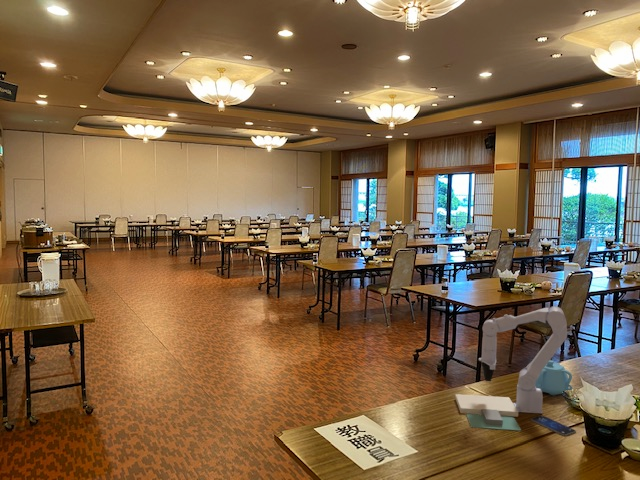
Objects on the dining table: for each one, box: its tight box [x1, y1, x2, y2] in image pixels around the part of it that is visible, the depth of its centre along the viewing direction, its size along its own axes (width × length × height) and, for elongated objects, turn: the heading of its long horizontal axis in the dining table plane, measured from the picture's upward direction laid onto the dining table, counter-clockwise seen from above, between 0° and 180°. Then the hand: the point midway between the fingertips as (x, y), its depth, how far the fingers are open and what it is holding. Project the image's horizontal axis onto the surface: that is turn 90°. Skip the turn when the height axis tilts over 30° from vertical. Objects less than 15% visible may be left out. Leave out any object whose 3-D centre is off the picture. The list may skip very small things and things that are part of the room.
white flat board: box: [454, 393, 519, 418], centre depth 198 cm, size 22×14×2 cm, turn 83°
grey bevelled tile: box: [481, 409, 503, 425], centre depth 187 cm, size 6×9×2 cm, turn 172°
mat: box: [465, 413, 522, 432], centre depth 185 cm, size 18×11×1 cm, turn 83°
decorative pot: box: [528, 359, 573, 396], centre depth 216 cm, size 16×16×14 cm
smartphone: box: [530, 414, 577, 437], centre depth 183 cm, size 7×1×15 cm
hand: (487, 380), depth 202 cm, fingers closed
